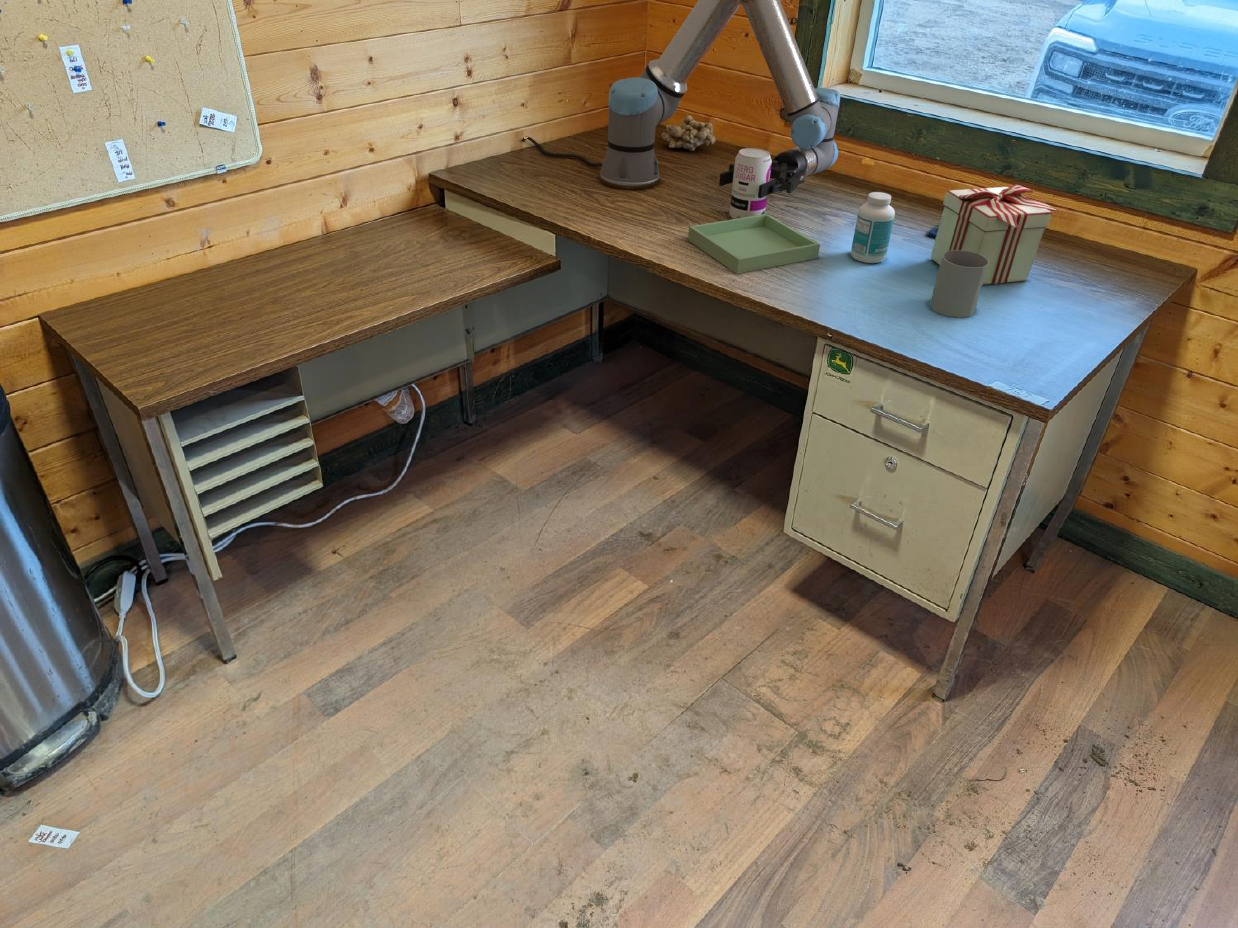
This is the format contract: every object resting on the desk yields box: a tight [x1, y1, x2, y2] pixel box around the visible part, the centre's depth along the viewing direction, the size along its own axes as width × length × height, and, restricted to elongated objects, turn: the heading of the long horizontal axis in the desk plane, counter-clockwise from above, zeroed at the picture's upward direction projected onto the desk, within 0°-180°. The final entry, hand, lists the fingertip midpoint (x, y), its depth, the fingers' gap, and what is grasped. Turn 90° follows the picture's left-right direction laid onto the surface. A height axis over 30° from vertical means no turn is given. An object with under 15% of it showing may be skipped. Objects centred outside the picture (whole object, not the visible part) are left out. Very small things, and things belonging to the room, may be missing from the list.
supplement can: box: [728, 147, 773, 220], centre depth 202 cm, size 8×8×15 cm
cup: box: [929, 250, 989, 319], centre depth 168 cm, size 8×8×10 cm
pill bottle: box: [850, 191, 896, 264], centre depth 185 cm, size 8×7×14 cm
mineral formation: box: [661, 114, 717, 152], centre depth 248 cm, size 8×13×15 cm
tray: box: [687, 213, 821, 274], centre depth 190 cm, size 20×21×3 cm
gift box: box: [930, 184, 1060, 286], centre depth 180 cm, size 17×18×17 cm
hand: (740, 186), depth 199 cm, fingers open, 10 cm apart
